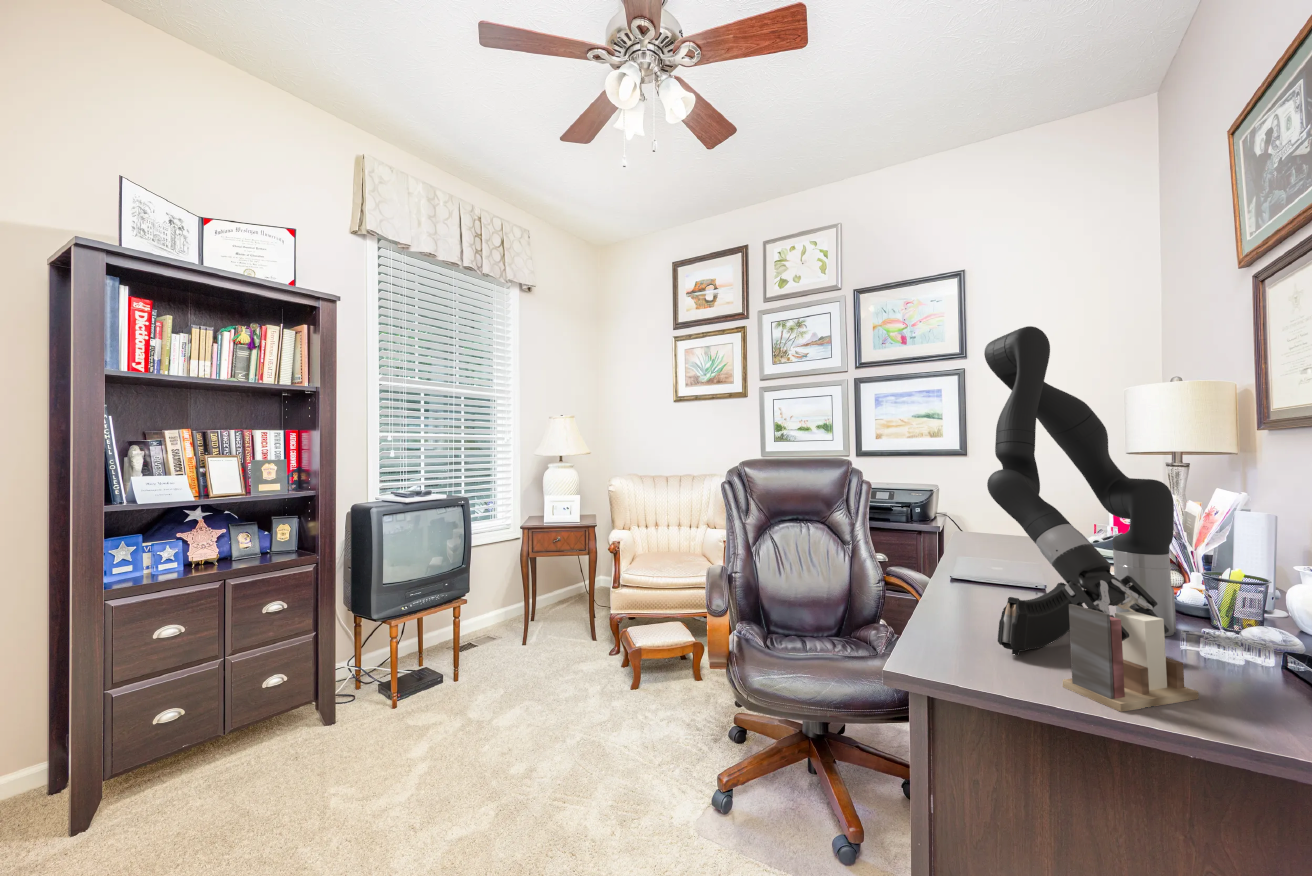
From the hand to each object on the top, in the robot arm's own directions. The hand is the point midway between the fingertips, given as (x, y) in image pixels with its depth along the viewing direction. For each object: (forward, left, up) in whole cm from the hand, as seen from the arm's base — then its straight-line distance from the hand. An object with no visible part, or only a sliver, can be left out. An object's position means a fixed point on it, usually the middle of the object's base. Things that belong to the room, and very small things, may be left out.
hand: (1144, 636), depth 87 cm
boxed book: (0, -1, -8) cm, 8 cm away
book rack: (+3, -1, -9) cm, 9 cm away
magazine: (-5, -23, -9) cm, 25 cm away
